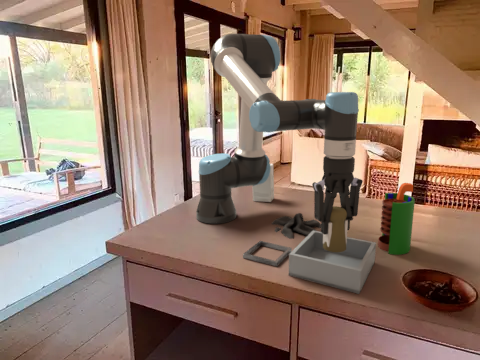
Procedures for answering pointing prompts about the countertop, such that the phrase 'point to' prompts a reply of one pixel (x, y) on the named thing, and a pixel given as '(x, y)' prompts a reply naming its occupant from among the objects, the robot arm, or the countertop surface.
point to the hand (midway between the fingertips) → (334, 243)
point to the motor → (397, 221)
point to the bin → (333, 262)
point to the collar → (264, 260)
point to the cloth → (295, 225)
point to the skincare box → (265, 189)
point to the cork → (337, 230)
